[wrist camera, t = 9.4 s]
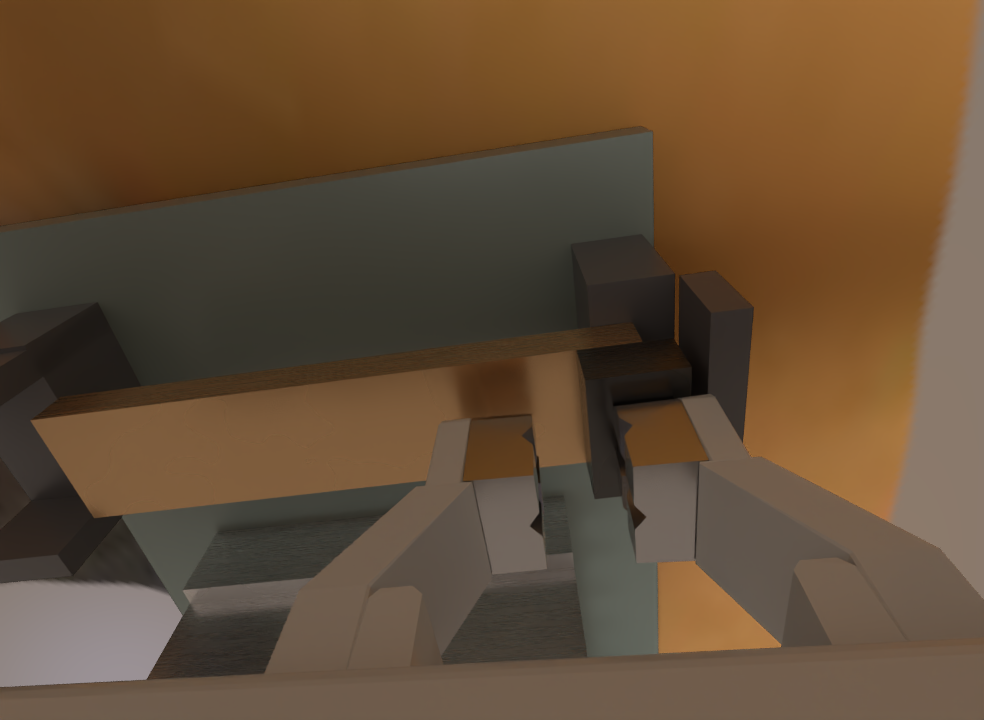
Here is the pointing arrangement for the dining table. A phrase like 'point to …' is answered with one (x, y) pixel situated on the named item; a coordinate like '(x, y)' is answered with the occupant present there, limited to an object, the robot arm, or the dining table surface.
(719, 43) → the dining table surface
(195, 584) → the heatsink
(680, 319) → the clip frame
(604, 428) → the strap
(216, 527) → the board
